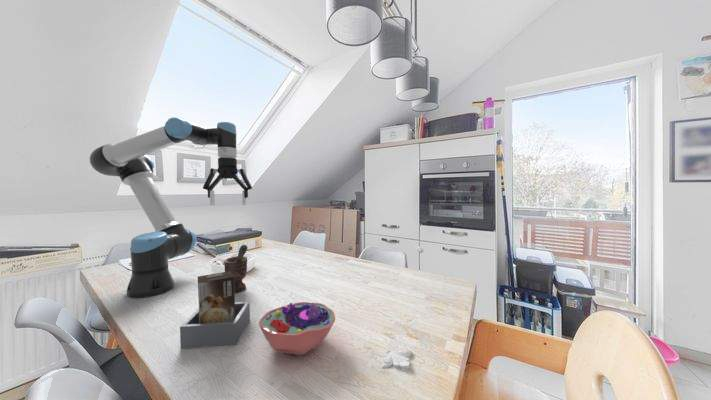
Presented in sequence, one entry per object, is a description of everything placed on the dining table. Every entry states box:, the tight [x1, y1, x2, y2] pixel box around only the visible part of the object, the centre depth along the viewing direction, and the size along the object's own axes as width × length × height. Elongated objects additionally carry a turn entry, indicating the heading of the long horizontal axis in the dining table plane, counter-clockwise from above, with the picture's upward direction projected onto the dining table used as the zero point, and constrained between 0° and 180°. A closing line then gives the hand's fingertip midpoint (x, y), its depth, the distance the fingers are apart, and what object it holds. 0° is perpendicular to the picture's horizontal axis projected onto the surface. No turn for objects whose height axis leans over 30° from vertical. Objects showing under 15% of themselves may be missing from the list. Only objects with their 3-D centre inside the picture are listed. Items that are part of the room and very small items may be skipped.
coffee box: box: [197, 271, 236, 324], centre depth 73 cm, size 9×6×16 cm
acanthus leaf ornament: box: [381, 349, 413, 371], centre depth 63 cm, size 8×7×2 cm
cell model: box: [258, 301, 336, 356], centre depth 68 cm, size 17×20×11 cm
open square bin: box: [179, 301, 251, 350], centre depth 74 cm, size 14×13×6 cm
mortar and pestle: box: [223, 244, 248, 293], centre depth 104 cm, size 12×9×20 cm
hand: (228, 205), depth 113 cm, fingers open, 13 cm apart
